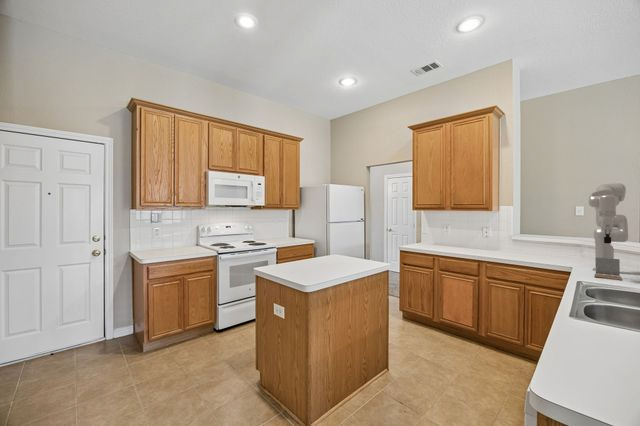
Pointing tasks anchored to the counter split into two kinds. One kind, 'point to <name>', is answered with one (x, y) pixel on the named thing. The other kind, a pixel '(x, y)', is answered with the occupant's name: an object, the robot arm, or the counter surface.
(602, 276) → the hinge base
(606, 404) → the counter surface
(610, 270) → the hinge leaf
